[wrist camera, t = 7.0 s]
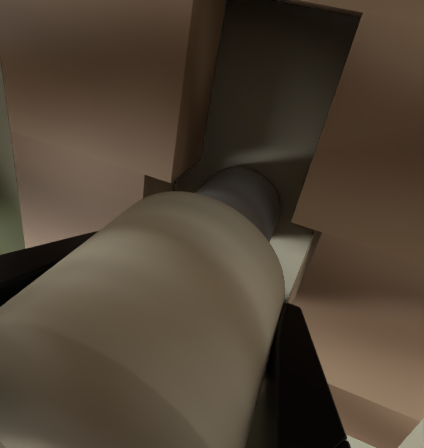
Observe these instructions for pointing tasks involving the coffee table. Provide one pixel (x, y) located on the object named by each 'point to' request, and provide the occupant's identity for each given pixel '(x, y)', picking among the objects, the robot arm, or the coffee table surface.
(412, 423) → the keyhole board
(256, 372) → the peg
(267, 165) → the coffee table surface
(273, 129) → the coffee table surface
